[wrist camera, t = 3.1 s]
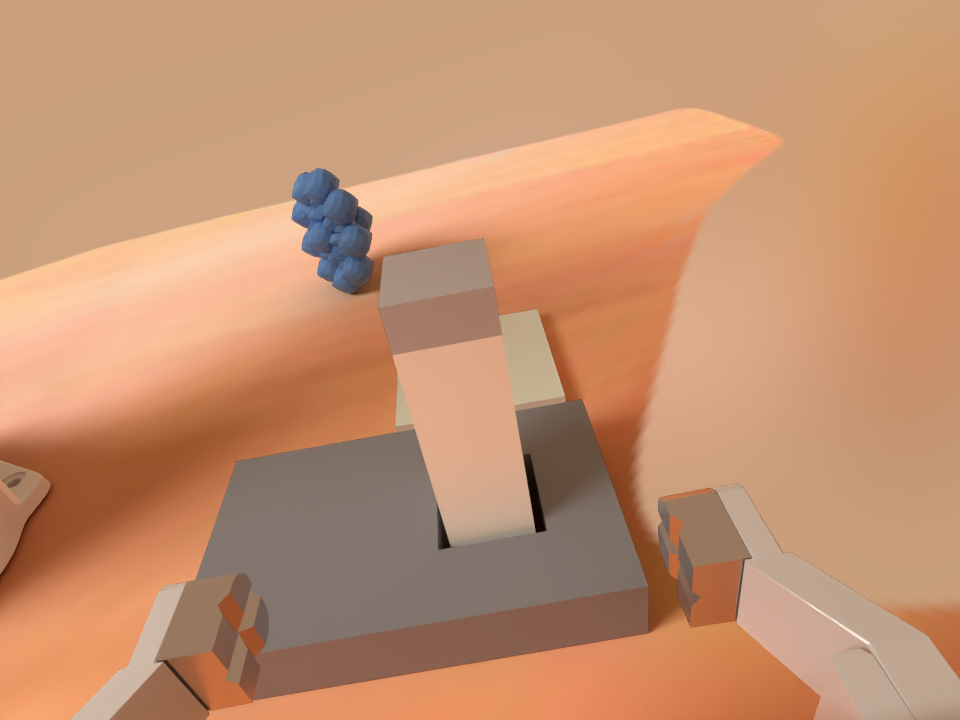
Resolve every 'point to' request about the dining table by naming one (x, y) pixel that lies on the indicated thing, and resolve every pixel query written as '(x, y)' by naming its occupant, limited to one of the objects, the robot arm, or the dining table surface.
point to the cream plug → (458, 387)
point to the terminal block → (423, 559)
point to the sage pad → (515, 367)
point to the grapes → (333, 229)
